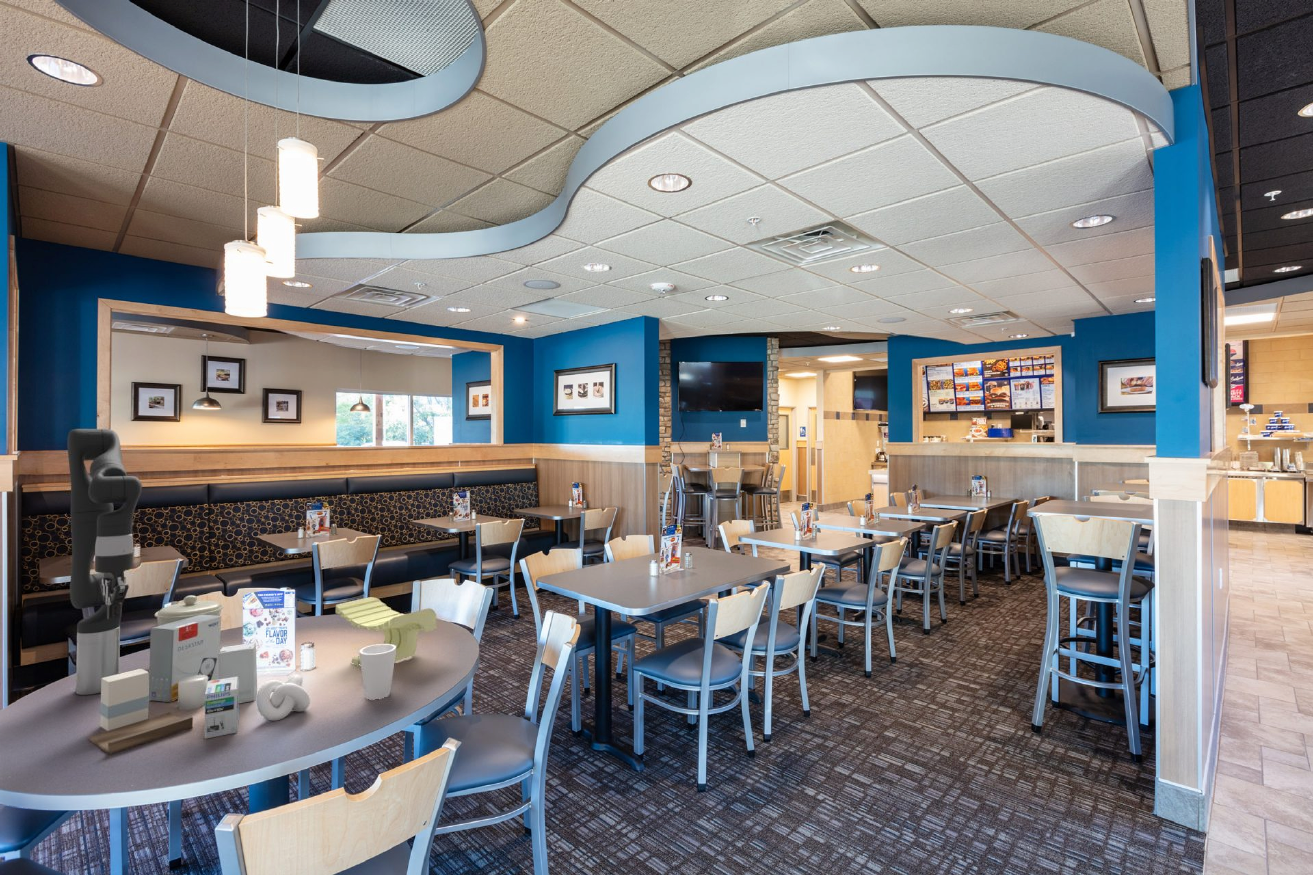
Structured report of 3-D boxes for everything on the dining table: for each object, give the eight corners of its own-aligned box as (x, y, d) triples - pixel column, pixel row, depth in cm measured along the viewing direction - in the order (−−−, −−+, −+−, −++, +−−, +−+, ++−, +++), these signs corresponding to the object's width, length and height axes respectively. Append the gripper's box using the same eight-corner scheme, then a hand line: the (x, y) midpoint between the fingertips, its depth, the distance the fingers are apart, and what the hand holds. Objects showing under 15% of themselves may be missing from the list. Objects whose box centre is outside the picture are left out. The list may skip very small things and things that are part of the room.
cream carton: (100, 726, 154) (101, 678, 154) (140, 714, 161) (141, 668, 161) (107, 731, 151) (108, 682, 152) (148, 719, 158) (148, 672, 158)
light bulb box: (237, 732, 151) (238, 688, 151) (203, 739, 147) (204, 694, 147) (238, 716, 160) (239, 675, 160) (206, 723, 156) (207, 680, 156)
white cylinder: (173, 706, 166) (174, 680, 166) (201, 698, 171) (201, 673, 171) (183, 712, 163) (184, 685, 163) (211, 703, 168) (212, 677, 168)
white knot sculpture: (262, 708, 165) (262, 674, 165) (313, 701, 170) (313, 668, 170) (253, 725, 155) (254, 689, 155) (308, 717, 159) (308, 682, 159)
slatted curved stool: (435, 660, 202) (436, 606, 203) (393, 675, 189) (393, 617, 189) (378, 645, 218) (378, 594, 218) (335, 658, 204) (335, 604, 204)
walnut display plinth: (88, 739, 147) (88, 728, 147) (169, 714, 161) (169, 704, 161) (109, 754, 140) (109, 743, 140) (192, 727, 153) (192, 717, 153)
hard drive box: (169, 703, 168) (171, 629, 168) (147, 701, 170) (148, 628, 170) (220, 682, 183) (221, 614, 184) (199, 680, 185) (200, 613, 185)
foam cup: (403, 692, 176) (403, 646, 176) (376, 704, 167) (376, 656, 168) (379, 686, 180) (379, 642, 180) (351, 698, 171) (352, 651, 172)
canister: (148, 660, 202) (149, 596, 202) (214, 647, 216) (215, 586, 216) (161, 673, 190) (162, 605, 190) (230, 658, 204) (231, 594, 204)
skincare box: (257, 694, 174) (258, 641, 175) (254, 702, 169) (255, 647, 169) (221, 699, 171) (222, 645, 171) (217, 707, 165) (218, 651, 166)
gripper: (142, 552, 161) (140, 619, 161) (123, 548, 169) (122, 611, 168) (105, 556, 155) (103, 626, 155) (87, 552, 162) (85, 618, 162)
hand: (113, 618), depth 162 cm, fingers closed
